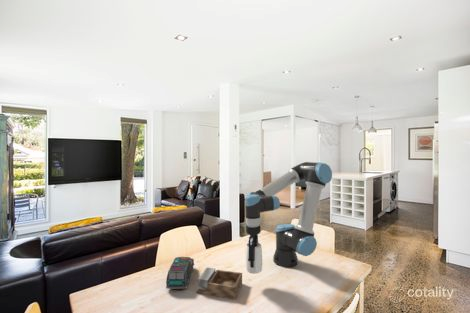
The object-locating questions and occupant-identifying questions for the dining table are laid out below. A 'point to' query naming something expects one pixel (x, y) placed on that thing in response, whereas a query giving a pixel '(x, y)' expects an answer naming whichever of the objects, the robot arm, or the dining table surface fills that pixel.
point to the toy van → (179, 273)
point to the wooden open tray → (219, 283)
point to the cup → (257, 258)
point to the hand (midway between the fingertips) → (254, 268)
